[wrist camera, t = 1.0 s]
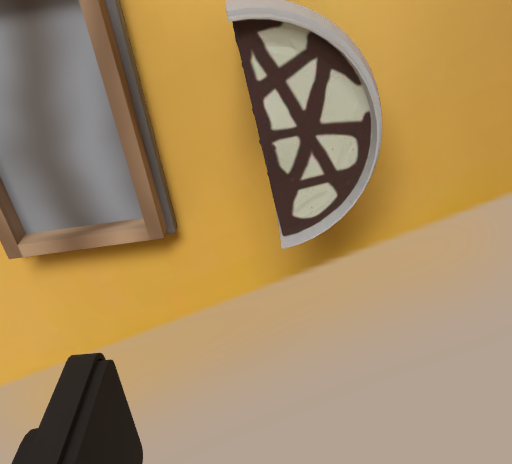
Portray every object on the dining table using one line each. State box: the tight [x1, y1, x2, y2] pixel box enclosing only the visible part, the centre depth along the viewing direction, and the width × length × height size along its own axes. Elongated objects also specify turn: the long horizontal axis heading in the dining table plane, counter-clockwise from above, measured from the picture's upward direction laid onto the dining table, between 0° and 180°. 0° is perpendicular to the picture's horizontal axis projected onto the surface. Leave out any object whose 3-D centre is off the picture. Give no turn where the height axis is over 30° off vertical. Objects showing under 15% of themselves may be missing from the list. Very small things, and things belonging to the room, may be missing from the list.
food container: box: [226, 0, 382, 249], centre depth 27 cm, size 12×6×10 cm, turn 13°
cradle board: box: [0, 0, 177, 259], centre depth 31 cm, size 12×18×2 cm, turn 8°
